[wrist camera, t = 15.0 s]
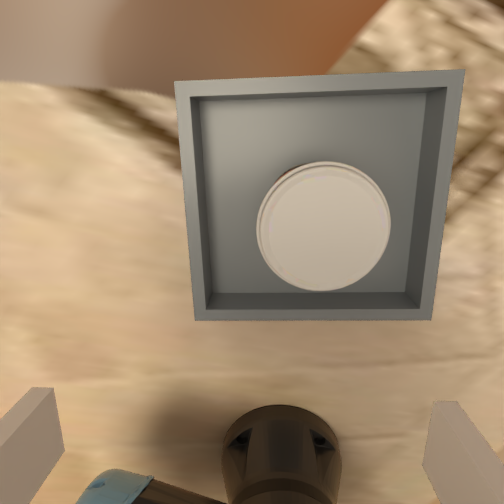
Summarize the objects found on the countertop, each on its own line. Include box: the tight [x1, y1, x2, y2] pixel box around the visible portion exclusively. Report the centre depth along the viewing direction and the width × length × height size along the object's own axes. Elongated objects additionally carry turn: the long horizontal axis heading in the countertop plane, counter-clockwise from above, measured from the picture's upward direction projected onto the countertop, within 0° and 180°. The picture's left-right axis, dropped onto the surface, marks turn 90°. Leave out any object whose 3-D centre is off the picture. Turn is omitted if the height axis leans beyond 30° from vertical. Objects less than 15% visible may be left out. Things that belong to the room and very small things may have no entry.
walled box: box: [174, 69, 465, 321], centre depth 34 cm, size 22×23×5 cm
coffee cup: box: [256, 161, 391, 291], centre depth 30 cm, size 9×9×12 cm
